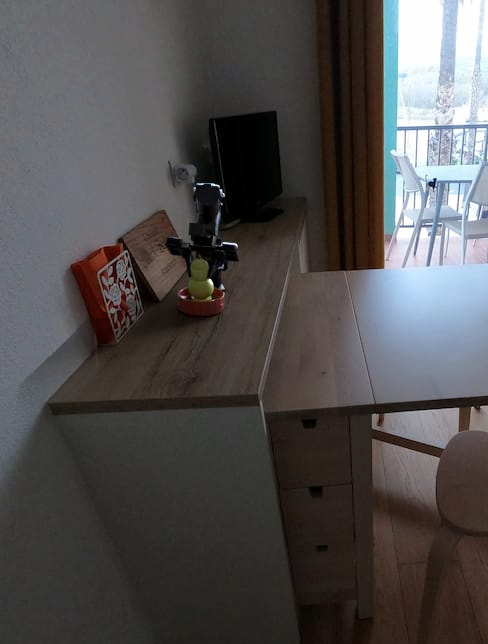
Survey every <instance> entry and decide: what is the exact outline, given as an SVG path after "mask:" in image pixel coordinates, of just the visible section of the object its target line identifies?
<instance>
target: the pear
mask: <svg viewBox="0 0 488 644" xmlns="http://www.w3.org/2000/svg"><path fill="white" fill-rule="evenodd" d="M208 270H209V266H208V263H207V262H206V261H205V260H203V259H201V258H200V255H198V259H196V258H194V261H193V262H192V263H191V278H190V279H189V281H188V283H187V287H188V289H189V292H190V294H191V295H192V300H193V301H210V300H211V296H210V295H211V294H212V292H213V289H214V286H213V283H212V281H211V279H208V278H207V275H208Z"/></svg>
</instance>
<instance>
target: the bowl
mask: <svg viewBox="0 0 488 644" xmlns="http://www.w3.org/2000/svg"><path fill="white" fill-rule="evenodd" d="M210 296H211V300H210V301H193V300H192V295H191V294H190V292H189V289H188V286H186V287H183V288H181V289H179V290H178V291H177V293H176V297H177V308H178V310H180V312H182V313H184V314H187V315H189V316H194V317H209V316H210V317H211V316H214V315H217V314H219V313H221V312H222V311H224V310H225V307H226V299H225V292H224V291H222V290H220V289H218V288H215V287H214V289H213V292H212V294H211V295H210Z"/></svg>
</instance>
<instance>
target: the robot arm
mask: <svg viewBox="0 0 488 644" xmlns="http://www.w3.org/2000/svg"><path fill="white" fill-rule="evenodd" d="M225 196H226V195H225V193H224V192H223V189H220V185H219V184H215V183H207V182H202V183H195V187H193V188H192V199H193V202H195V210H196V214H197V219H196V222H189V223H188V234H187V235H188V236H190V241H191V242H193V243H191V242H188V241H184V239H183V237H177V236H170V235H169V236H168V237H166V238H165V240H164V246H165V248H166V249H167V251H168V253H169V254H170V255H172V256H177V257H181V258H182V259H184V261H185V265H186V272H187V275H188V278H190V279H191V263H192V262H193V261H194V260H195V259H198V255H200V258H201V259H203V260H205V261H206V262H207V263H208V266H209V270H208V275H207V278H208V279H211V281H212V283H213V286H214V287H215V288H218V289H220V290H222V291H223V292H224V291H225V290H226V289H225V287H224V285H223V284H222V283H223V282H222V281H223V280H222V272H226V271H227V270H229V262H233V263H239V262H240V259H241V251H240V248H239V245H238V244H237V243H235V242H224V241H223V242H222V240H221V238H218V235H219V234H218V233H219V224H220V221H221V220H222V217H221V215H224V209H223V207H224V206H223V204H224V203H223V202H226V197H225ZM193 252H195V257H194V255H193Z"/></svg>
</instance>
